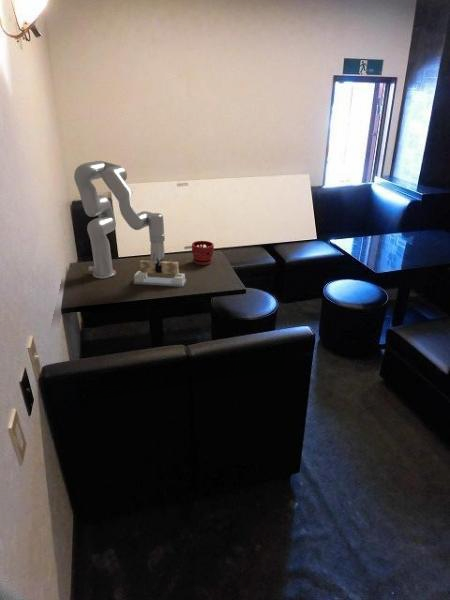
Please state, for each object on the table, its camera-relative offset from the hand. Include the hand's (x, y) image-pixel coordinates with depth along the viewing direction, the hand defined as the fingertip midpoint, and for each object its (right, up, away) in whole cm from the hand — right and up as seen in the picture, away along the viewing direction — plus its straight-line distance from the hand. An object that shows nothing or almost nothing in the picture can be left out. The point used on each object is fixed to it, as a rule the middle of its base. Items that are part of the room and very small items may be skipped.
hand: (159, 271), depth 216 cm
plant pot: (+22, +7, +31) cm, 39 cm away
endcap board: (0, -6, +3) cm, 6 cm away
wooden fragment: (+3, +4, +24) cm, 25 cm away
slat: (0, -1, 0) cm, 1 cm away
